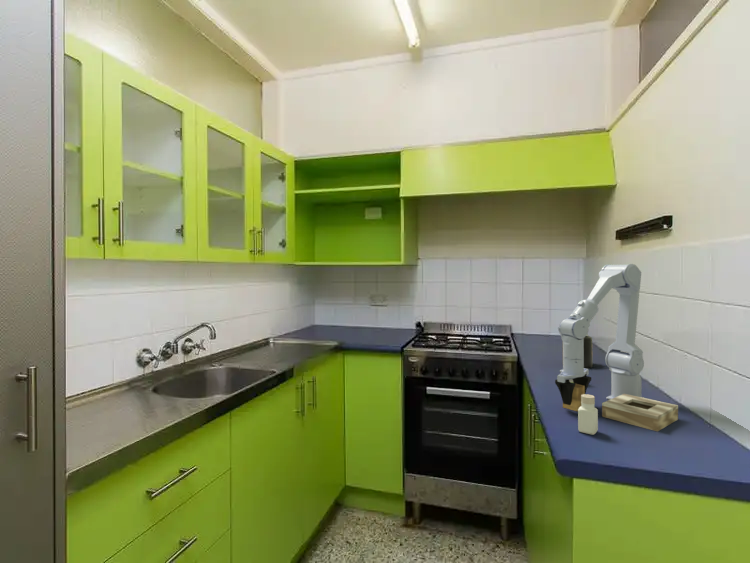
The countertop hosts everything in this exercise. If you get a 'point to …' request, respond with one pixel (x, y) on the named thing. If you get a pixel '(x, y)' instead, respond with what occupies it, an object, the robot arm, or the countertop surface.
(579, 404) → the ochre peg
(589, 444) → the countertop surface
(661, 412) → the posting box
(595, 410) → the pepper shaker
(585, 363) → the jar
